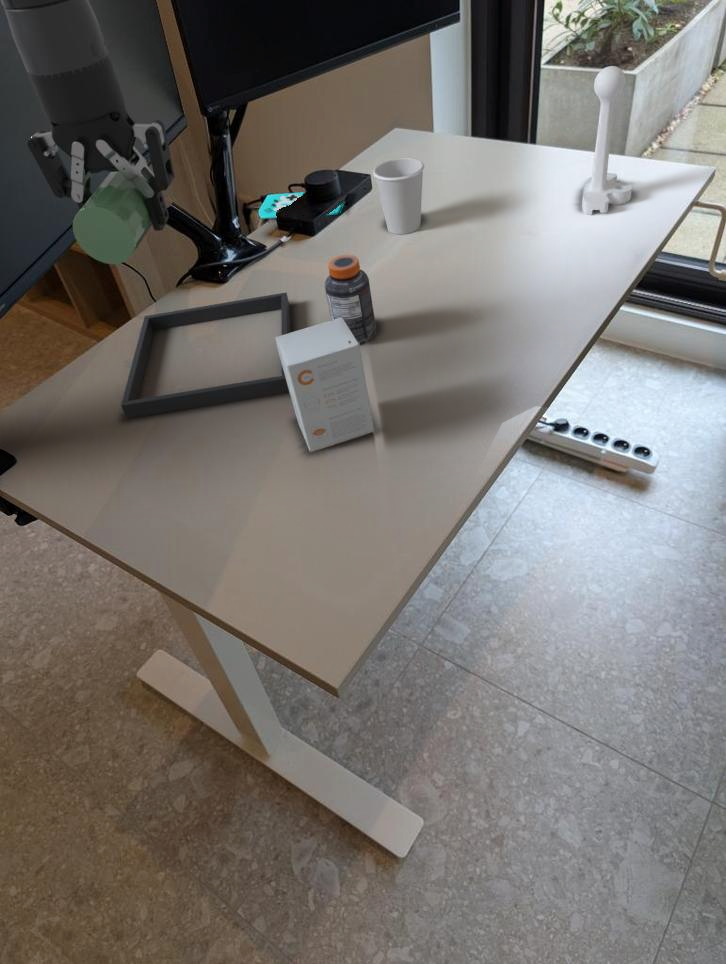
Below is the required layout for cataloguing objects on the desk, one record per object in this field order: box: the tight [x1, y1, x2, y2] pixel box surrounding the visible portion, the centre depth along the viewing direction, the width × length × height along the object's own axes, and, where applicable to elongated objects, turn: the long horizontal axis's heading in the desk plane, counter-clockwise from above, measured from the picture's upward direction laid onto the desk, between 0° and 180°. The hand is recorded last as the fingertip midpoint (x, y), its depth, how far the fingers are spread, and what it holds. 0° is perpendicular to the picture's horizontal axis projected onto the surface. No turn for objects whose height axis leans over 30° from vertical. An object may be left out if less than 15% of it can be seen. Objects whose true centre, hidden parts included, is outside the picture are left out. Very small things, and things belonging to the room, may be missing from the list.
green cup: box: [72, 171, 153, 265], centre depth 72 cm, size 6×6×9 cm
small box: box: [274, 317, 376, 453], centre depth 77 cm, size 8×6×13 cm
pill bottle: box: [324, 254, 377, 346], centre depth 92 cm, size 6×6×11 cm
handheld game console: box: [258, 191, 346, 219], centre depth 128 cm, size 10×16×1 cm, turn 81°
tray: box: [120, 292, 291, 420], centre depth 95 cm, size 22×22×3 cm
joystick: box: [581, 65, 633, 216], centre depth 107 cm, size 11×8×20 cm
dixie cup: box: [372, 157, 425, 235], centre depth 114 cm, size 8×8×10 cm
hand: (130, 228), depth 75 cm, fingers closed on green cup, 6 cm apart
